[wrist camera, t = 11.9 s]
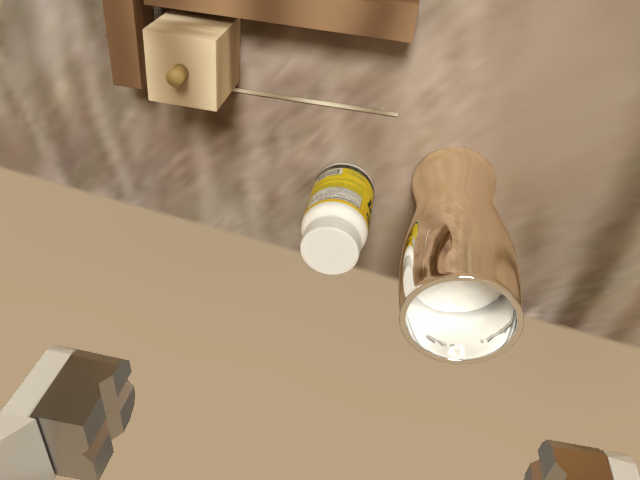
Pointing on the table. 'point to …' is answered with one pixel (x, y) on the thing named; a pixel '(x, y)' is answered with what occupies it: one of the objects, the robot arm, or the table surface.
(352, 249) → the supplement bottle
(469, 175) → the beer glass
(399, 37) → the fence board
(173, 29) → the block
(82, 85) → the table surface
